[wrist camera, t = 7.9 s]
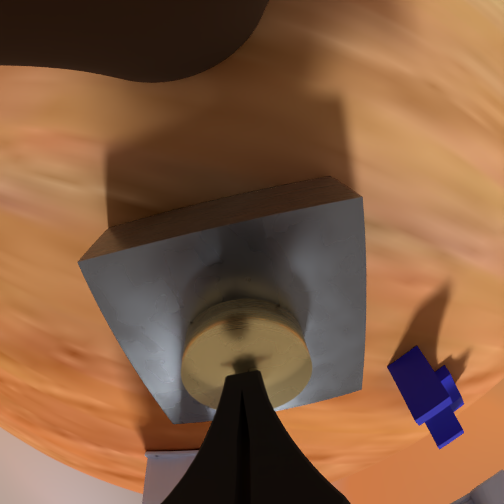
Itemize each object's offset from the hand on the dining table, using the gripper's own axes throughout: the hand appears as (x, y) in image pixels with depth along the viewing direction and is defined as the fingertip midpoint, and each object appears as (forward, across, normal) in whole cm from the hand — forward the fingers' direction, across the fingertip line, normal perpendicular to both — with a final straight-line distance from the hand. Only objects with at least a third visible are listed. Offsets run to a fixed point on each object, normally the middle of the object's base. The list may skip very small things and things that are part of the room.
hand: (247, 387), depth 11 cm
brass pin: (+6, 0, 0) cm, 6 cm away
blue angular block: (+7, -15, +14) cm, 22 cm away
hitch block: (+7, 0, 0) cm, 7 cm away
